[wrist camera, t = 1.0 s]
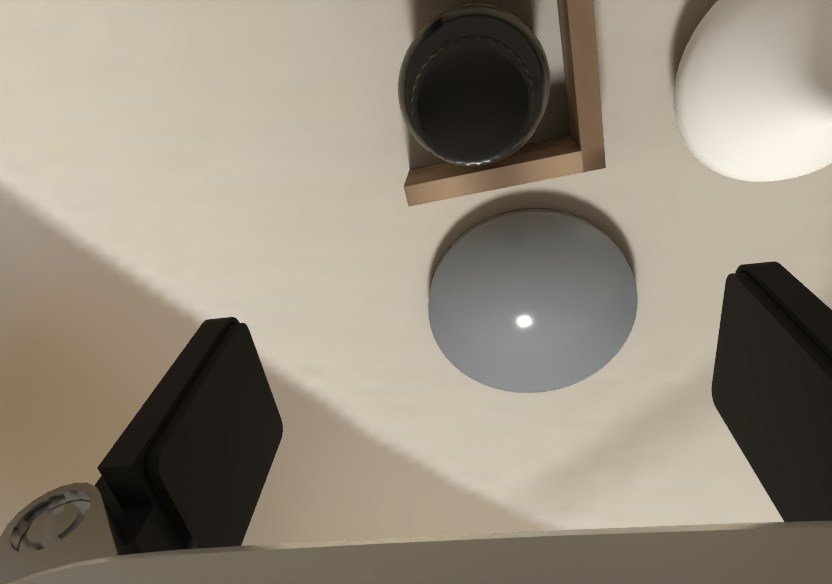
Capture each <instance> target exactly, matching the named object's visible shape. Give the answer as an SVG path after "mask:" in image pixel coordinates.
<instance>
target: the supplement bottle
mask: <svg viewBox="0 0 832 584" xmlns="http://www.w3.org/2000/svg"><path fill="white" fill-rule="evenodd" d="M549 96H550V71H549V66H548V62H547V58H546V55H545V53H544V50H543V48H542V46H541V44H540V42H539V40H538V39H537V37H536V36H535V34H534V33H533V32H532V31H531V29H530V28H529V27H528V26H527V25H526V24H525V23H524V22H522V21H521V20H520V19H518V18H517V17H516V16H514V15H513V14H511V13H509V12H508V11H506V10H504V9H502V8H500V7H498V6H495V5H491V4H486V3H470V4H464V5H460V6H457V7H455V8H453V9H450V10H448V11H447V12H445V13H443V14H441V15H439V16H438V17H436V18H435V19H433V20H432V21H431V22H429V23H428V24H427V25H426V26H425V27H424V28H423V29H422V30H421V31H420V32H419V33H418V34H417V36H416V37H415V38H414V40H413V41H412V43H411V45H410V46H409V48H408V50H407V52H406V54H405V56H404V59H403V62H402V65H401V69H400V73H399V80H398V97H399V104H400V109H401V112H402V115H403V118H404V120H405V123H406V125H407V127H408V129H409V130H410V132H411V133H412V135H413V136H414V138H415V139H416V140H417V141H418V142H419V143H420V144H421V145H422V146H423V147H424V148H425V149H426V150H427V151H428V152H430V153H431V154H433V155H434V156H436V157H438V158H440V159H442V160H444V161H447V162H450V163H453V164H457V165H464V166H480V165H486V164H490V163H494V162H497V161H499V160H502V159H504V158H506V157H508V156H509V155H511V154H513V153H514V152H516V151H517V150H518V149H520V148H521V147H522V146H523V145H524V144H525V143H526V142H527V141H528V140H529V139H530V138H531V137H532V135H533V134H534V133H535V131H536V130H537V128H538V126H539V125H540V123H541V121H542V119H543V117H544V114H545V112H546V109H547V105H548V101H549Z"/></svg>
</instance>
